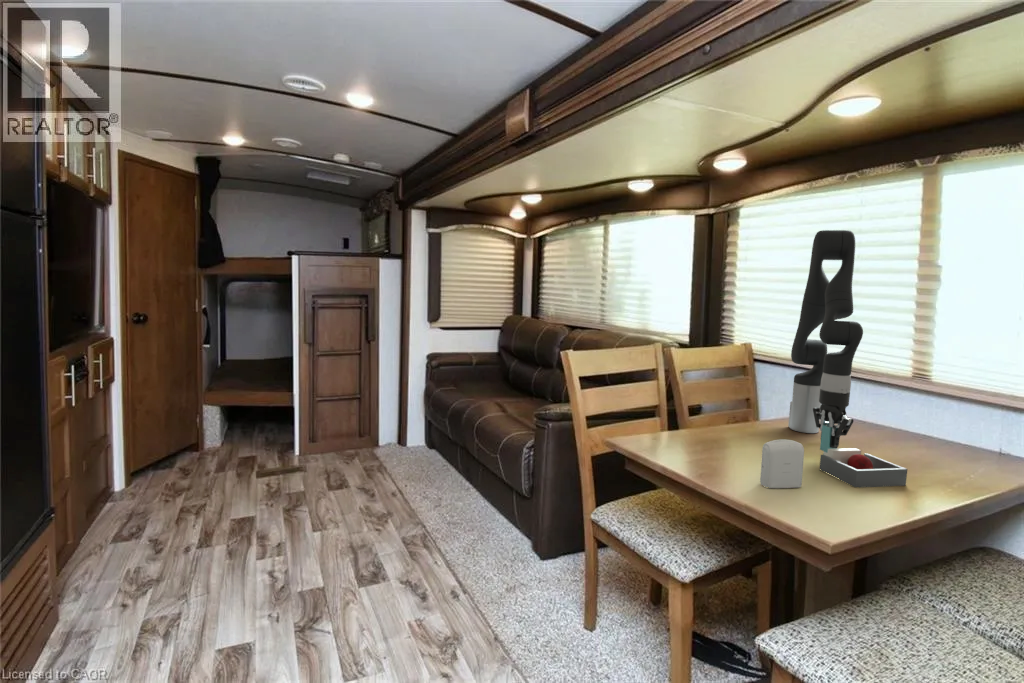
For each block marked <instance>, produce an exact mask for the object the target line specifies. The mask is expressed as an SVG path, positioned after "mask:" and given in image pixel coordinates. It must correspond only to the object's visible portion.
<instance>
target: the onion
mask: <svg viewBox="0 0 1024 683" xmlns="http://www.w3.org/2000/svg"><path fill="white" fill-rule="evenodd" d="M847 465H849V466H851V467H853V468H855V469H873V464H872V462H871V460H870V459H869V458H868V457H866V456H864V454H862V453H861V454H855V455H852V456H851V457H850V458H849V459H848V461H847Z"/></svg>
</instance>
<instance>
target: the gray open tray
mask: <svg viewBox="0 0 1024 683" xmlns="http://www.w3.org/2000/svg"><path fill="white" fill-rule="evenodd" d="M863 455H864V456H866V457H868V458H869V459H870V460H871V462H872V464H873V469H855V468H853V467H851V466H849V465H846V464H844V463H842V462H840V461H837V460H835V459H833V458H830V457H828V456H826V455H823V454H820V458H819V459H820V460H819V469H821V470H822V471H825V472H827V473H829V474H831V475H833V476H835V477H837V478H839V479H840V480H839V479H838V480H839V481H841V480H842V481H841V482H843V481H844V482H843V483H845V482H846V483H845V484H847V483H848V484H847V485H849V484H850V486H851V485H852V486H851V487H853V486H854V487H853V488H855V487H859V488H878V487H879V488H880V487H883V488H884V487H902V486H904V487H905V486H906V485H907V478H908V477H907V476H908V468H906V467H903V466H901V465H898V464H895V463H893V462H891V461H888V460H885V459H883V458H881V457H877V456H875V455H873V454H870V453H867V452H866V453H865V452H864V453H863ZM822 471H821V472H822ZM829 474H828V475H829ZM831 475H830V476H831ZM833 476H832V477H833ZM835 477H834V478H835ZM837 478H836V479H837Z"/></svg>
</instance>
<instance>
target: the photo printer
mask: <svg viewBox="0 0 1024 683" xmlns="http://www.w3.org/2000/svg"><path fill="white" fill-rule="evenodd" d="M804 456H805V448H804V446H803V443H800V442H798V441H796V440H792V439H784V438H783V439H782V438H781V439H774V440H770V441H767V442H765V443H764V444H763V445H762V450H761V462H760V464H761V465H760V479H759V480H760V481H759V482H760V486H762V485H763V486H765V487H769V488H768V489H789V488H790V489H792V488H795V489H797V488H802V482H803V472H804V458H805V457H804ZM763 486H762V487H763ZM765 487H764V488H765Z"/></svg>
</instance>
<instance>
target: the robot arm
mask: <svg viewBox="0 0 1024 683" xmlns="http://www.w3.org/2000/svg"><path fill="white" fill-rule="evenodd" d="M811 247H812V248H811V256H810V264H809V271H808V277H807V281H806V286H805V290H804V293H803V298H802V303H801V309H800V310H801V311H800V315H799V322H798V326H797V329H796V333H795V336H794V339H793V343H792V346H791V353H790V357H791V361H792V362H793V364H796V365H797V364H798V365H801V366H802V365H803V366H804V365H805V366H812V367H811V368H810V369H809V370H806V371H803V372H800V373H796V374H795V375H794V377H793V385H792V386H793V387H792V399H791V400H792V401H790V402H789V412H788V413H789V415H788V425H787V426H788V427H789V429H790V430H791V431H792V430H793V431H796V432H798V433H799V432H800V433H805V434H806V433H807V434H816V433H819V431H820V435H821V434H822V425H829V426H830V428H831V438H830V447H831V448H837V449H839V445H840V438H841V436H843V437H844V436H845V437H846V436H847V435H848V433H849V431H850V429H851V427H852V426H853V423H854V419H853V418H850V417H848V416H847V410H846V409H847V407H848V406H849V405H850V396H851V387H852V368H853V361H854V357H855V354H856V352H857V349H858V347H859V345H860V343H861V341H862V339H863V335H864V329H863V327H862V325H861V323H859V322H858V321H851V320H848V321H847V320H842V319H846V318H849V317H850V316H852V315H853V313H854V298H853V278H854V277H853V276H854V269H855V257H856V256H855V255H856V236H855V233H854V232H853V231H851V230H849V229H848V230H844V229H841V230H840V229H833V230H832V229H830V230H828V229H827V230H826V229H825V230H824V229H823V230H818V231H817V232H816V234H815V236H814V238H813V243H812V246H811ZM824 261H841V265H840V267H839V269H838V271H837V272H836V274H834V276H833V278H831V280H829V279H828V277H827V274H826V272H825V271H824V267H823V262H824ZM820 326H821V327H820ZM818 327H820V329H819V334H818V335H819V339H810V338H809V337H810V335H811V334H812V332H814V331H815V330H816V328H818ZM808 338H809V339H808ZM828 345H832V346H844V347H843V349H842V350H840V351H836V352H829V353H828ZM836 428H837V432H836Z"/></svg>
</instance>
